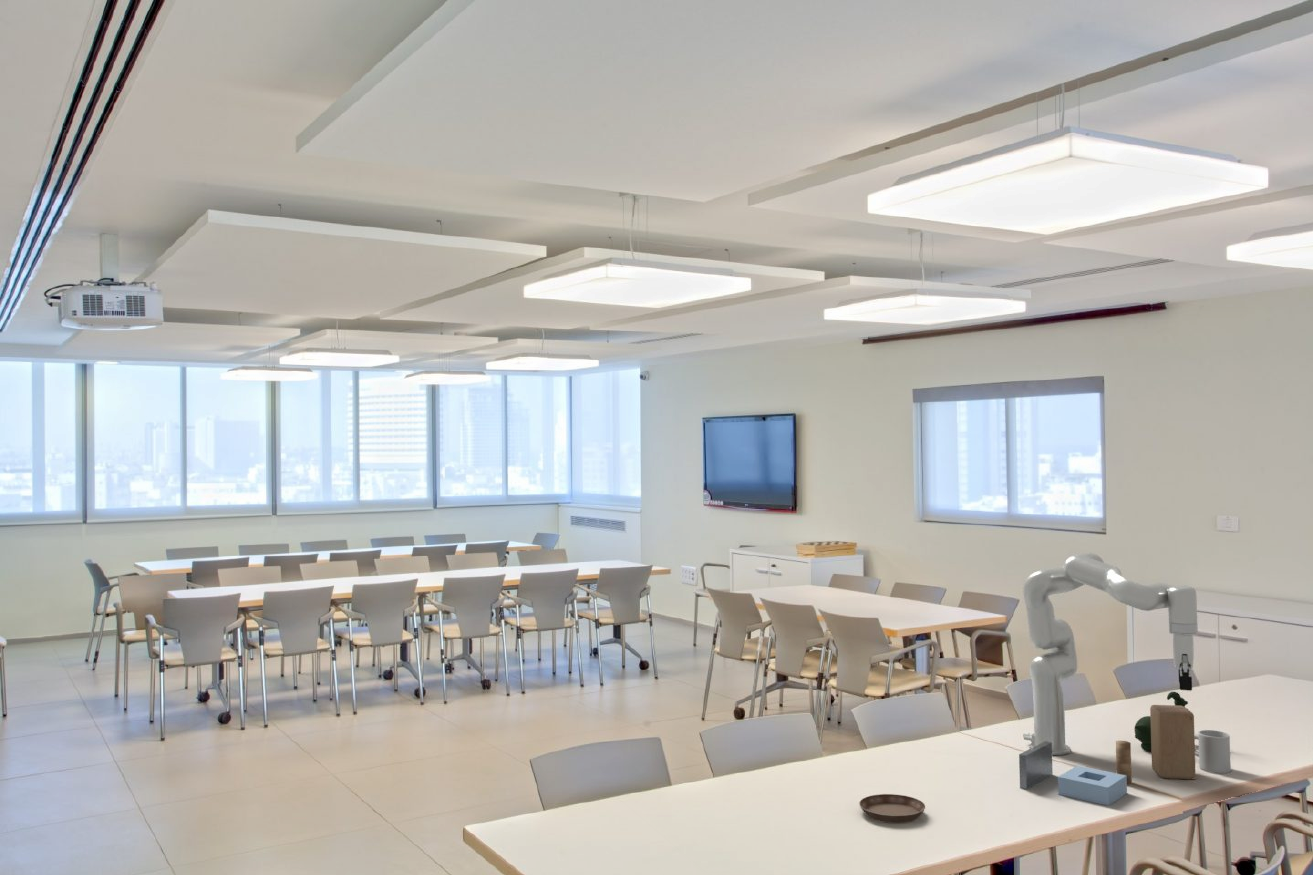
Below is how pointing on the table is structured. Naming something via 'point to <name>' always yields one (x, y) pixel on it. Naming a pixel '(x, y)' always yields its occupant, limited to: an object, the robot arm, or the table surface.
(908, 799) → the plant saucer
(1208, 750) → the mug
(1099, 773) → the socket block
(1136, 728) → the toy figurine
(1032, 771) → the backstop wall
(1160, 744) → the wooden block
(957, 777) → the table surface
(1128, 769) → the dowel
